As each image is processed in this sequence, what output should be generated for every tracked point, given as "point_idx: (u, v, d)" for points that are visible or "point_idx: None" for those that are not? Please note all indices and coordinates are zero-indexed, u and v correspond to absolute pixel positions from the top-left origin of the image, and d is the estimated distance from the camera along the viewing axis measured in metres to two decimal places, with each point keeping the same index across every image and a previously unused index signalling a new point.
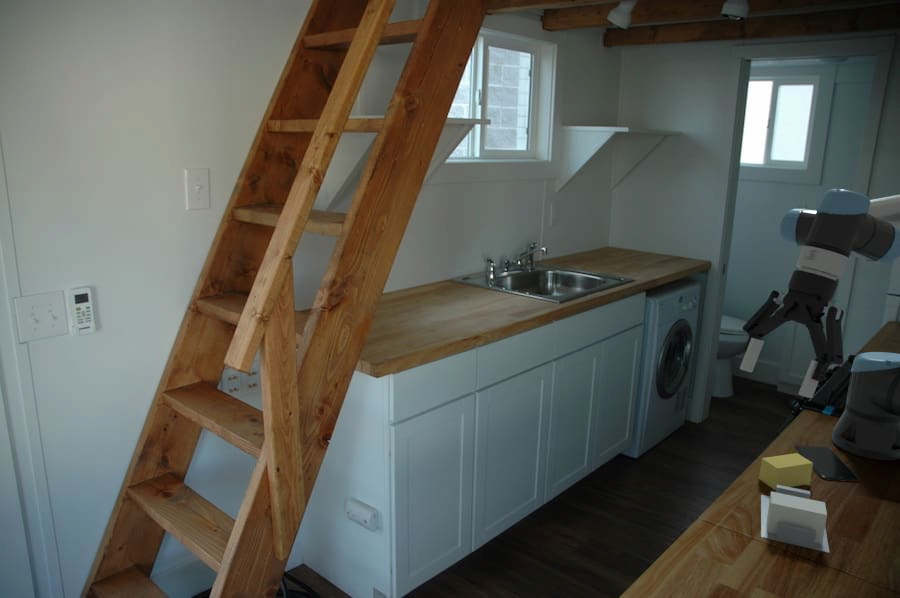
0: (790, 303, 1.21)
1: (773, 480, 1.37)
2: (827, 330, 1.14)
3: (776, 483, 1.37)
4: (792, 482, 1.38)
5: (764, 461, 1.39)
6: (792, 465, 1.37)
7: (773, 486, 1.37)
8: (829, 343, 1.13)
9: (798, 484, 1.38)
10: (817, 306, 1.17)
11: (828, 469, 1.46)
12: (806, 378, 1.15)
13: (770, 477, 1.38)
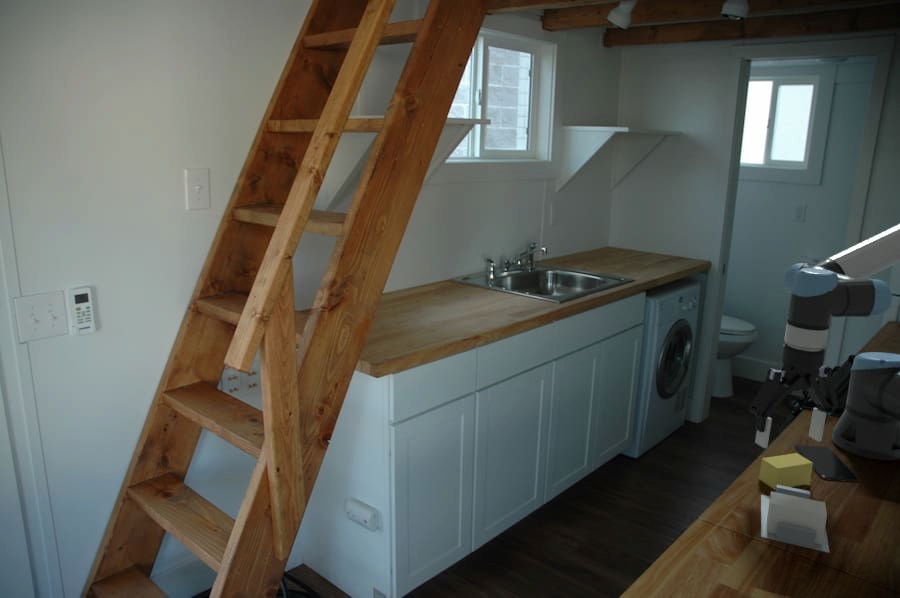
0: None
1: (774, 480, 1.37)
2: None
3: (776, 483, 1.37)
4: (792, 482, 1.38)
5: (764, 461, 1.39)
6: (792, 465, 1.37)
7: (773, 486, 1.37)
8: None
9: (798, 484, 1.38)
10: None
11: (828, 469, 1.46)
12: None
13: (770, 477, 1.38)
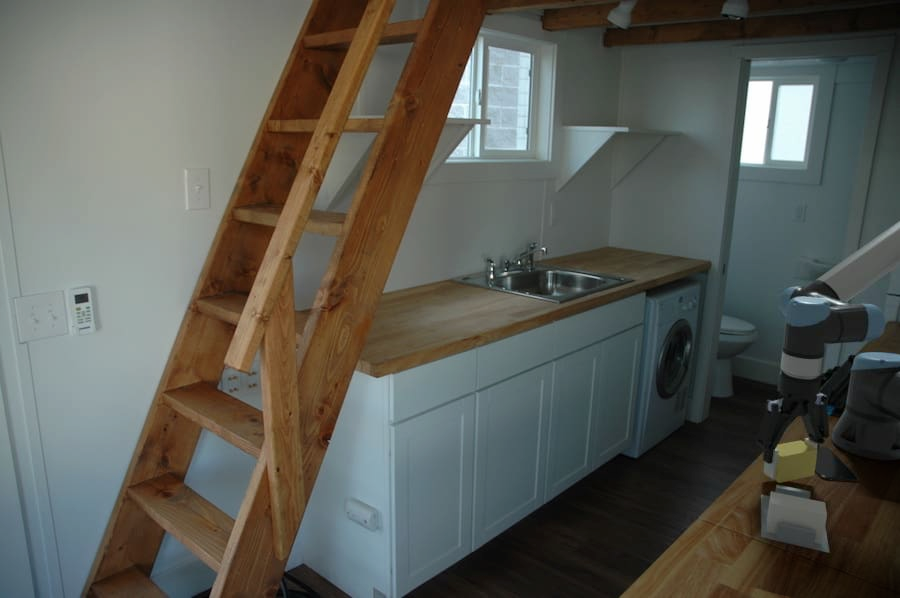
0: None
1: (778, 468, 1.36)
2: None
3: (781, 471, 1.36)
4: (797, 470, 1.37)
5: None
6: (797, 453, 1.36)
7: (778, 474, 1.36)
8: None
9: (803, 471, 1.38)
10: None
11: (828, 469, 1.46)
12: None
13: None
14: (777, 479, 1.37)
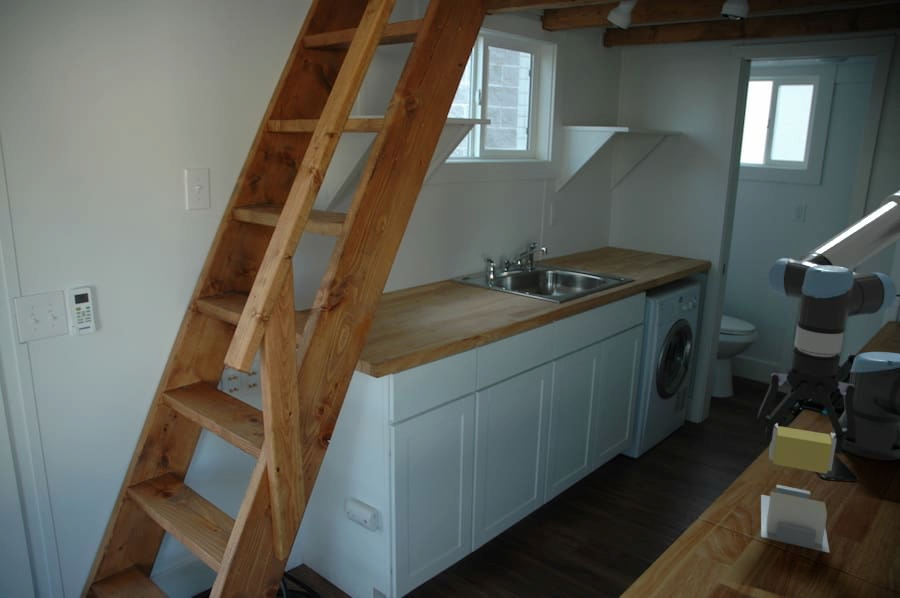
0: None
1: (775, 448, 1.26)
2: None
3: (777, 452, 1.25)
4: (800, 458, 1.24)
5: None
6: (801, 438, 1.23)
7: (774, 455, 1.26)
8: None
9: (810, 463, 1.23)
10: None
11: None
12: None
13: None
14: (773, 460, 1.26)
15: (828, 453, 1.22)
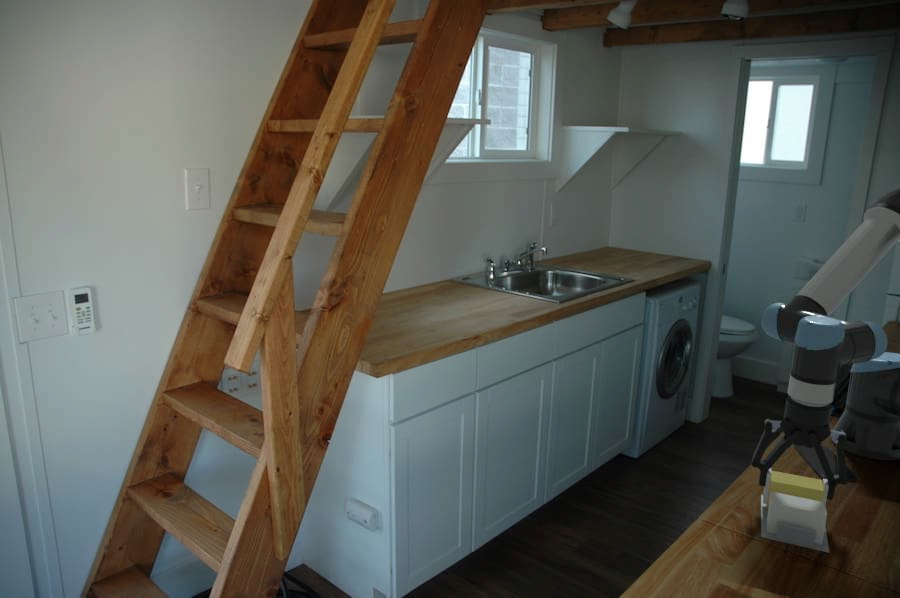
0: None
1: (769, 493, 1.28)
2: None
3: None
4: None
5: None
6: (794, 484, 1.26)
7: (768, 500, 1.28)
8: None
9: None
10: None
11: None
12: None
13: (769, 490, 1.29)
14: (767, 505, 1.29)
15: (820, 499, 1.24)
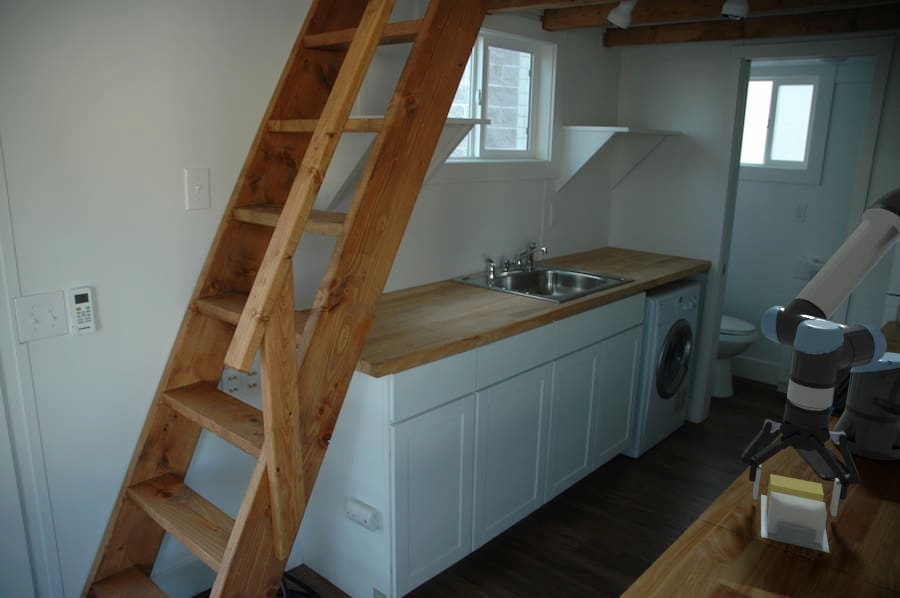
0: None
1: (768, 497, 1.28)
2: None
3: None
4: None
5: (770, 477, 1.30)
6: (793, 488, 1.26)
7: (768, 503, 1.29)
8: None
9: None
10: None
11: (827, 469, 1.46)
12: None
13: (768, 494, 1.29)
14: (767, 508, 1.29)
15: None
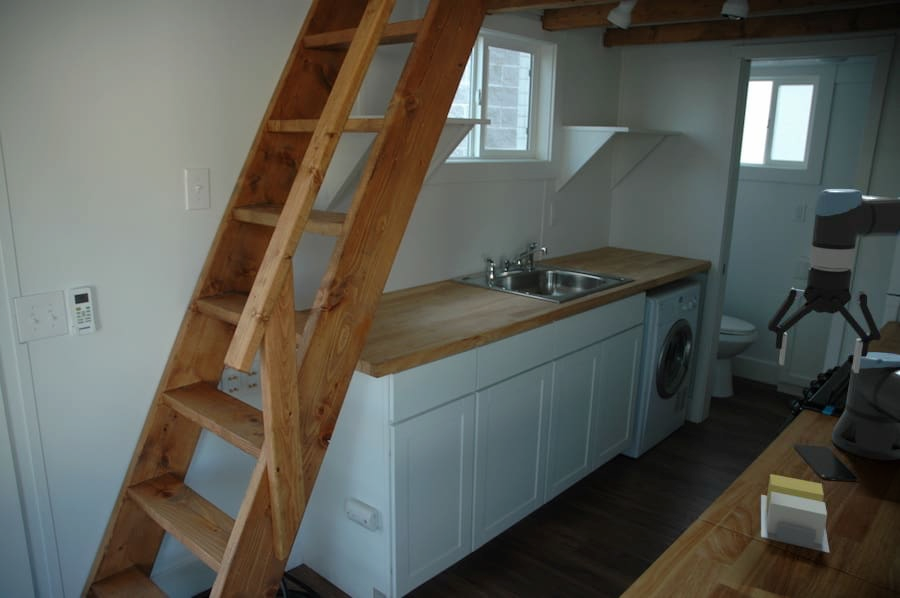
0: None
1: (768, 497, 1.28)
2: None
3: None
4: None
5: (770, 477, 1.30)
6: (793, 488, 1.26)
7: (768, 503, 1.29)
8: None
9: None
10: None
11: (827, 469, 1.46)
12: None
13: (768, 494, 1.29)
14: (767, 508, 1.29)
15: None
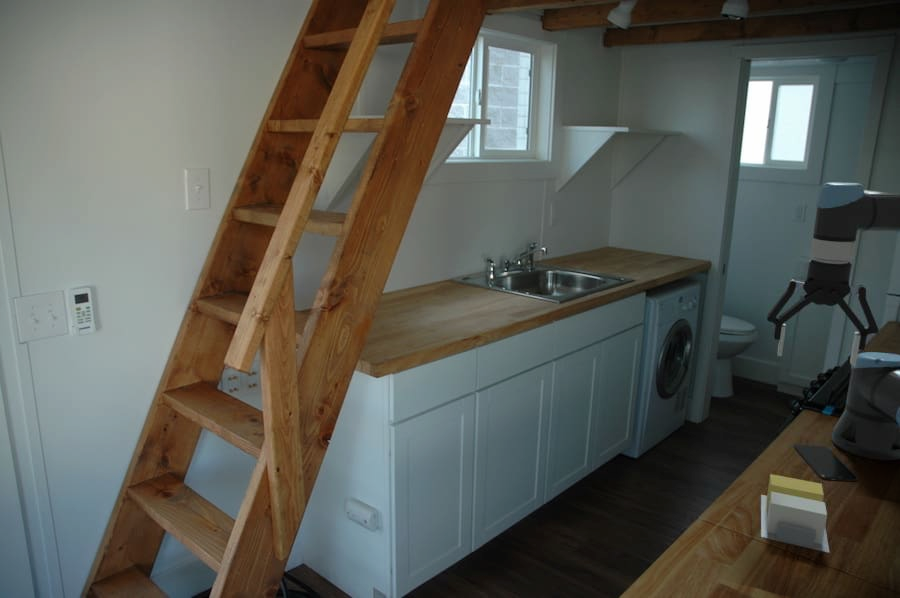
0: None
1: (768, 497, 1.28)
2: None
3: None
4: None
5: (770, 477, 1.30)
6: (793, 488, 1.26)
7: (768, 503, 1.29)
8: None
9: None
10: None
11: (827, 469, 1.46)
12: None
13: (768, 494, 1.29)
14: (767, 508, 1.29)
15: None
